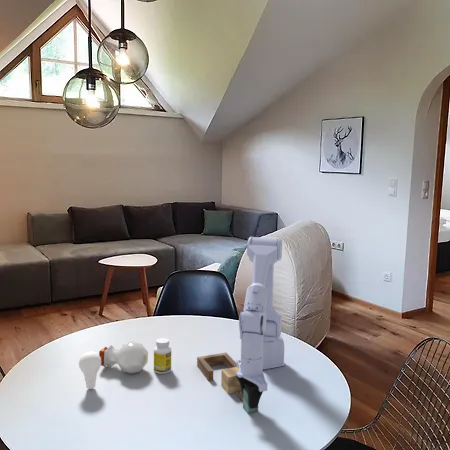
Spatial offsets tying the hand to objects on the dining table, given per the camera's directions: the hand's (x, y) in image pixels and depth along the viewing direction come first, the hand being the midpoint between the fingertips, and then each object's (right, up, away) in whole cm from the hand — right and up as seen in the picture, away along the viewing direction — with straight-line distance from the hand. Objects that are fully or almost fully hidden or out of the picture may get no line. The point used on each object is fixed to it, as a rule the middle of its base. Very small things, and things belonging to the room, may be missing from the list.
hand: (250, 403), depth 120 cm
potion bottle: (-38, +2, +21) cm, 44 cm away
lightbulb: (-45, 0, +10) cm, 46 cm away
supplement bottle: (-26, +2, +22) cm, 34 cm away
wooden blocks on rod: (-2, -1, +6) cm, 7 cm away
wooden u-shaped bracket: (-9, +2, +21) cm, 23 cm away
